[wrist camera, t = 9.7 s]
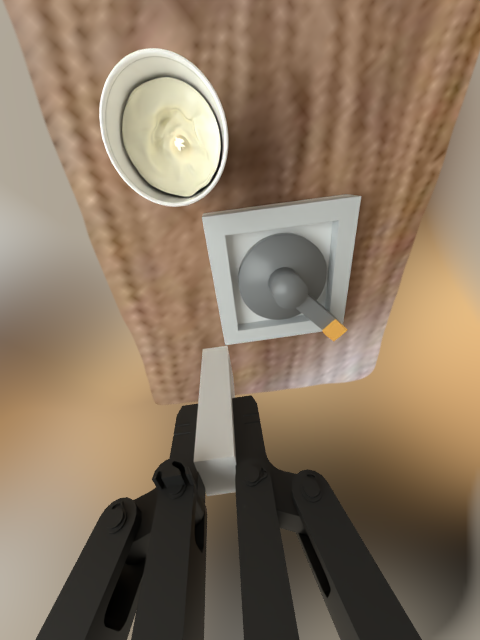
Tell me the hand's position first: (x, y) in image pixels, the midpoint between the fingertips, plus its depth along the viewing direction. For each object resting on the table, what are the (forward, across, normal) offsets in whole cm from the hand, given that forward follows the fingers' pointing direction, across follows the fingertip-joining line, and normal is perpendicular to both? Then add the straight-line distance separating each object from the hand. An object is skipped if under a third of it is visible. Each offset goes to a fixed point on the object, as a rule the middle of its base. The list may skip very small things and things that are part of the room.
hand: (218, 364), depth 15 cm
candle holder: (+25, -2, +13) cm, 28 cm away
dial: (+22, +11, -6) cm, 25 cm away
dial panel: (+24, +9, -4) cm, 26 cm away
